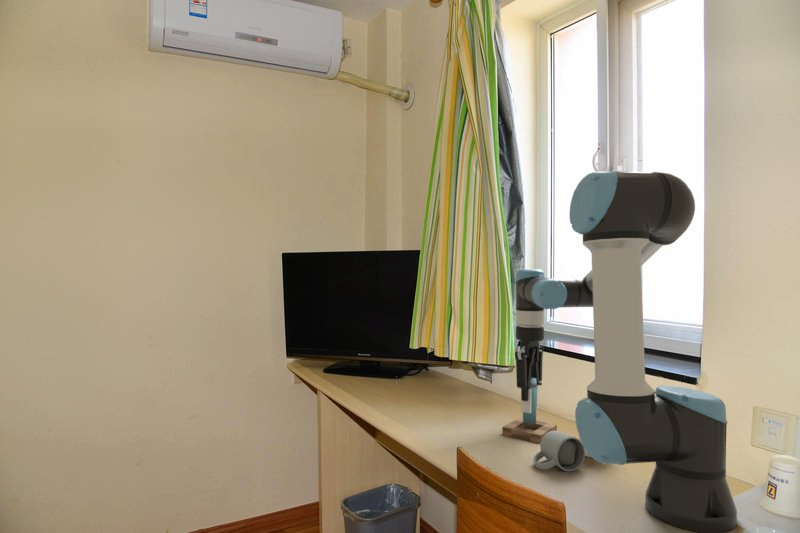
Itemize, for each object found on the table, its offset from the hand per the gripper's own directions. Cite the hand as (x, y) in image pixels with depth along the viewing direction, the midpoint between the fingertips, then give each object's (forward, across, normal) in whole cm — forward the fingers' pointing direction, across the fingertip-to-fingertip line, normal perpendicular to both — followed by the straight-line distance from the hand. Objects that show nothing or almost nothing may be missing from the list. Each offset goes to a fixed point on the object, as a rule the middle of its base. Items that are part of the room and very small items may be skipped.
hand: (529, 410), depth 144 cm
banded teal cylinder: (+3, 0, 0) cm, 3 cm away
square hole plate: (+6, 0, 0) cm, 6 cm away
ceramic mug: (+6, +17, +15) cm, 24 cm away
